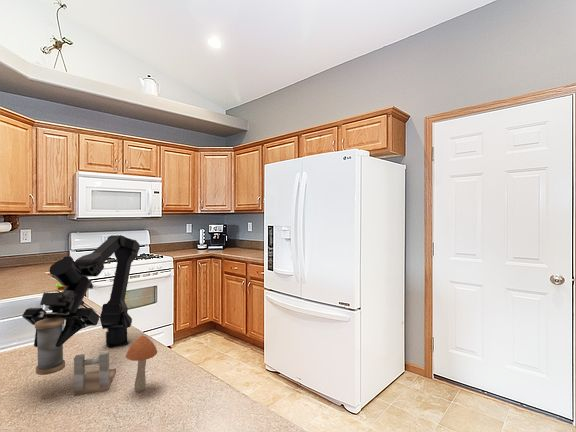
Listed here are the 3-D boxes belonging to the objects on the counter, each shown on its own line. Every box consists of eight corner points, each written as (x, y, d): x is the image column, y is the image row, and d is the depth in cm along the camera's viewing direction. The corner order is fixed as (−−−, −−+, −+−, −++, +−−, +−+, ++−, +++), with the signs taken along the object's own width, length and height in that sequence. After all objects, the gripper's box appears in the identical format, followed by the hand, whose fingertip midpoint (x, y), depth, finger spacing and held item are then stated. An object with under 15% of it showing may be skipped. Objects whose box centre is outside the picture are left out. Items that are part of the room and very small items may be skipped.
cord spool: (64, 361, 93) (64, 315, 93) (65, 370, 88) (64, 322, 87) (36, 367, 89) (35, 320, 89) (35, 377, 84) (34, 327, 84)
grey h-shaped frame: (86, 375, 98) (85, 342, 98) (116, 371, 101) (115, 339, 100) (74, 395, 88) (73, 358, 87) (107, 390, 90) (107, 354, 90)
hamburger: (82, 288, 210) (82, 274, 209) (72, 292, 198) (72, 278, 198) (62, 288, 208) (62, 275, 208) (51, 293, 196) (51, 279, 196)
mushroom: (164, 384, 93) (163, 332, 93) (143, 400, 85) (142, 342, 85) (141, 380, 96) (140, 328, 95) (119, 394, 88) (118, 339, 88)
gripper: (26, 279, 92) (-9, 333, 81) (92, 279, 92) (65, 333, 81) (48, 299, 100) (18, 351, 89) (108, 299, 100) (86, 351, 89)
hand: (46, 346), depth 87 cm, fingers closed on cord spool, 5 cm apart
